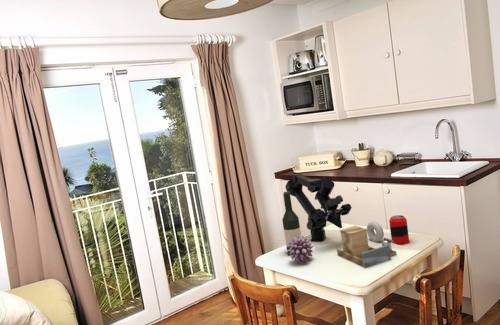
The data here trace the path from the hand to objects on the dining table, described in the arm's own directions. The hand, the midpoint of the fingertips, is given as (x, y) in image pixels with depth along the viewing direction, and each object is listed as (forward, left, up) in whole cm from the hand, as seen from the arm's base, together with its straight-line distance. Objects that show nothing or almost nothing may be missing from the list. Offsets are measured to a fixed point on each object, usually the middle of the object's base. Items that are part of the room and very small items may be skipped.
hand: (341, 227), depth 195 cm
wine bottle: (-23, -4, -11) cm, 26 cm away
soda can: (+23, +12, -11) cm, 28 cm away
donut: (+12, +12, -11) cm, 20 cm away
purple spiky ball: (-15, -15, -11) cm, 24 cm away
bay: (+11, -9, -11) cm, 18 cm away
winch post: (+21, -6, -11) cm, 24 cm away
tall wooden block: (+7, -6, -10) cm, 14 cm away
